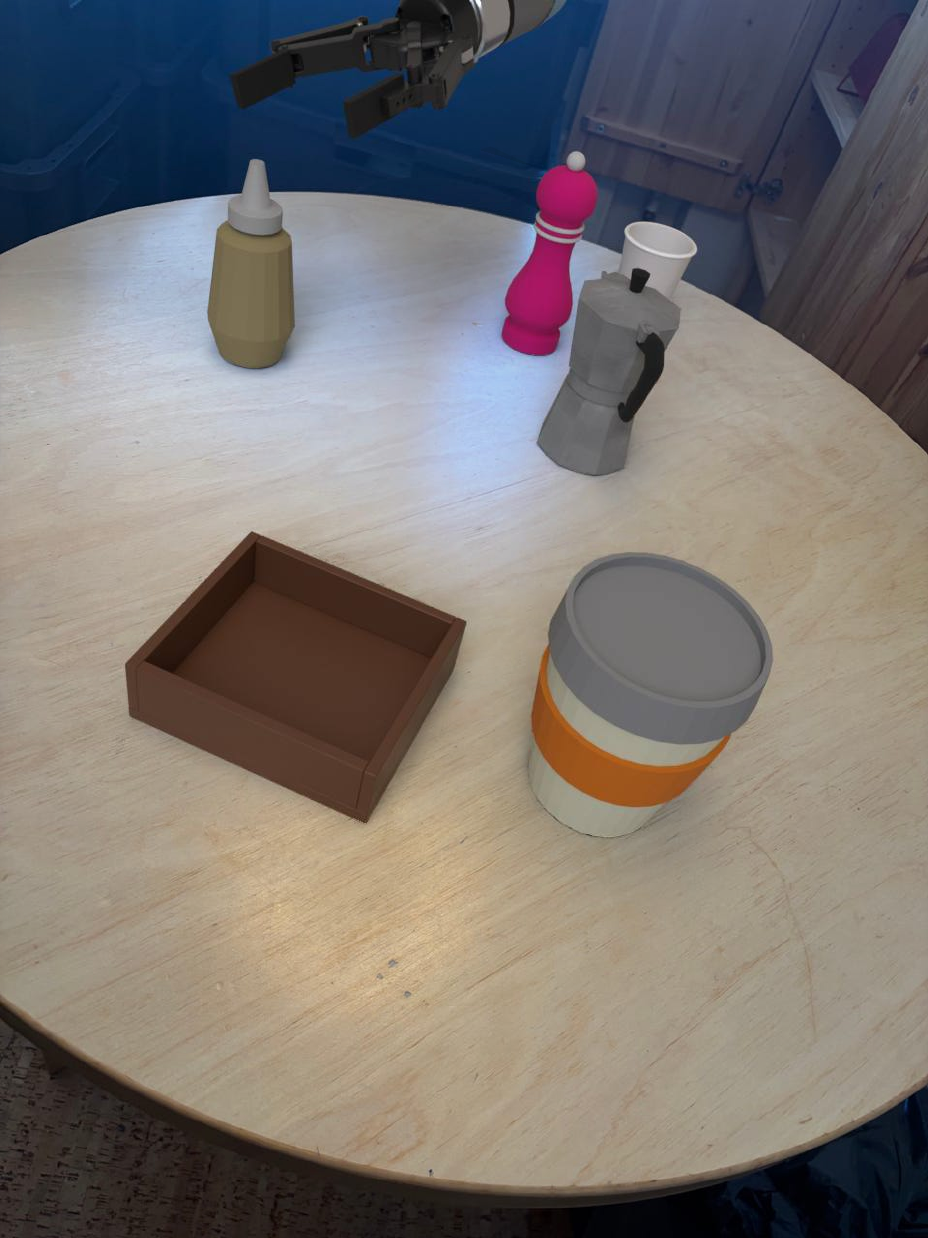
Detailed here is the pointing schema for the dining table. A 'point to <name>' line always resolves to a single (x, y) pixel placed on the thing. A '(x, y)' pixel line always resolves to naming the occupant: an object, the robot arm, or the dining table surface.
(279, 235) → the squeeze bottle
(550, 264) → the pepper mill
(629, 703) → the reusable coffee cup
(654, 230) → the dixie cup
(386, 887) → the dining table surface
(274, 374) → the dining table surface
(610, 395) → the coffeepot
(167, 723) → the brown tray
